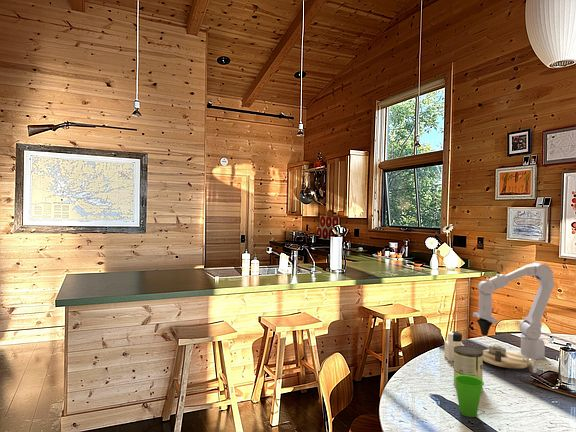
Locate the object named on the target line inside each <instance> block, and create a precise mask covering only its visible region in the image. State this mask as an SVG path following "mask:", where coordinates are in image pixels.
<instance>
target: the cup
mask: <svg viewBox="0 0 576 432" xmlns="http://www.w3.org/2000/svg"><path fill="white" fill-rule="evenodd" d="M454 380H455V382H456V387H455V389H456V393H457V395H456V396H457V400H458V401H457V402H458V408H459V413H460V414H461V415H462V416H465V417H470V418H475V417H476V416H477V414H478V411H479V406H480V401H481V396H482V390H483V389H482V388H483V386H484V385H485V382H484V380H483V379H482V380H481V379H480V378H477V377H474V376H470V375H457V376H455V377H454V376H453V381H454Z"/></svg>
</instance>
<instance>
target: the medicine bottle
mask: <svg viewBox="0 0 576 432" xmlns="http://www.w3.org/2000/svg"><path fill="white" fill-rule="evenodd" d="M456 346H465V345H464V344H463V334H462V333H460V332H458V331H449V332H447V340H444V355H443V356H444V357H445V358H446V359H447V361H448V362H454V347H456Z"/></svg>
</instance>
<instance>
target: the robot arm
mask: <svg viewBox="0 0 576 432" xmlns="http://www.w3.org/2000/svg"><path fill="white" fill-rule="evenodd" d="M525 276H531V277H534V278H536V280H537V282H538V284H539V287H538V289H537V292H536V293H535V296H534V299H533V302H532V304H531V307H530V308H529V309H530V310H529V311H528V315H526V316H525V317H524V319H523V321H521V323H519V326H518V328H519V331H520V333H521V335H520V352H518V353H519V354H521V355H524V356H526V357H528V358H529V359H534V360H543V359H547V358H546V356H545V353H546V352H545V351H546V350H545V348H546V346H545V341H544V339H543V338H542V337H541V336H542V321H541V320H542V318H543V316H544V313H545V310H546V307H547V305H548V303H549V300H550V297H551V294H552V292H553V289H554V287H555V280H554V271H553V270H552V268H551V267H550V265H548V264H545V263H541V262H538V261H535V262H532V263H527V264H525V265H524V266H521V267H520V268H518V269H517V268H516V270H513V271H511V272H508V273H507V274H504V273H496V274H495V276H493V277H491V278H486V280H481V281H480V282H479V283H478V285H477V286H476V288H477V290H478V310H477V311H478V312H477V311H476V312H472V317H474V318H475V317H476V318H477V319H476V321H477V324H478V326H479V329H480V333H481V336H483V337H485V336H488V334H489V331H490V329H491V326H492V325H495V324H496V325H497V324H499V323H498V322H499V320H498V319H497V318H495V317H494V316H492V314H493V313H492V312H493V311H492V310H493V309H492V308H493V293H494V291H497V290H499V289H502V288H504V287H506V286H508V285H509V284H510V282H512V281H514V280H518V279H520V278H523V277H525Z"/></svg>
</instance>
